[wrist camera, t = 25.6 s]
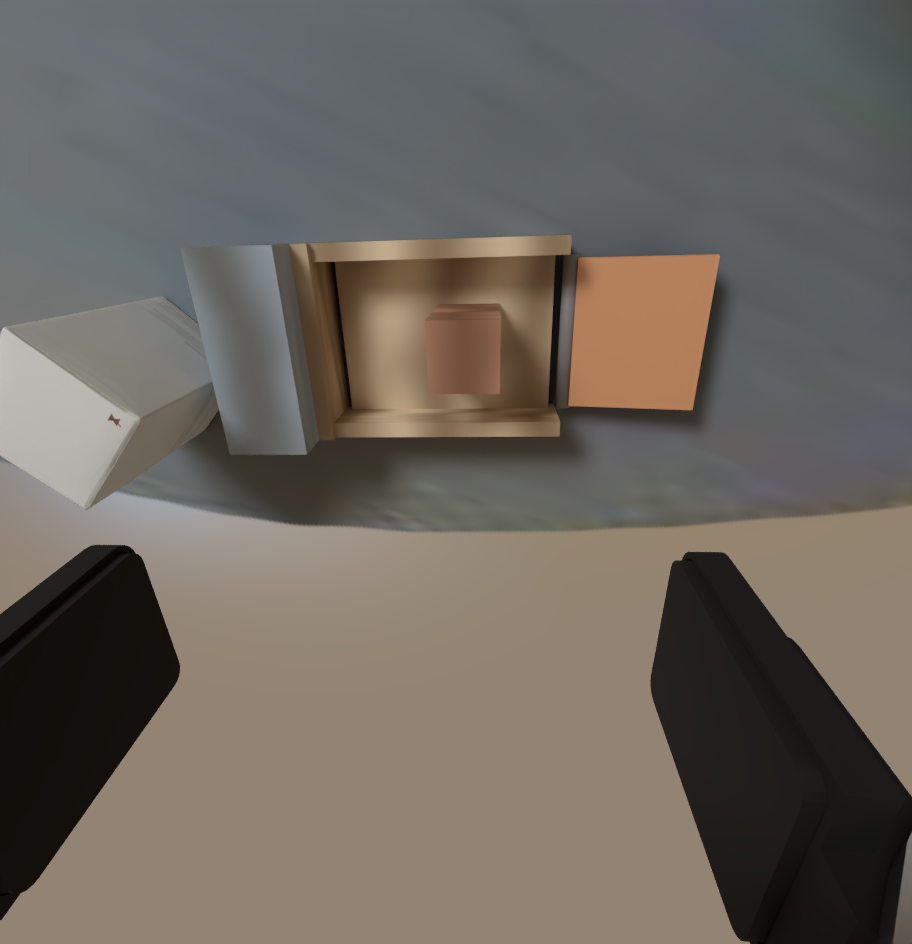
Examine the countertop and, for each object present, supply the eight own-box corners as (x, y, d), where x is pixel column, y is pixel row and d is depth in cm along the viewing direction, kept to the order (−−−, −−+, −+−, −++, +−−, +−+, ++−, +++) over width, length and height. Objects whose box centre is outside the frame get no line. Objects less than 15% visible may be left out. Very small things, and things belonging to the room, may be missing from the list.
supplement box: (162, 292, 35) (0, 319, 23) (252, 364, 36) (143, 422, 25) (117, 370, 37) (-47, 429, 26) (204, 434, 39) (85, 515, 28)
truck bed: (562, 234, 32) (580, 234, 25) (552, 416, 37) (565, 454, 30) (239, 245, 33) (180, 248, 27) (273, 418, 38) (230, 455, 32)
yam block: (499, 303, 33) (500, 319, 26) (498, 364, 34) (499, 393, 28) (437, 304, 33) (424, 320, 27) (440, 365, 35) (428, 394, 28)
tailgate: (563, 254, 32) (716, 250, 30) (555, 404, 36) (688, 408, 34) (563, 255, 31) (720, 251, 29) (554, 408, 35) (691, 413, 33)
